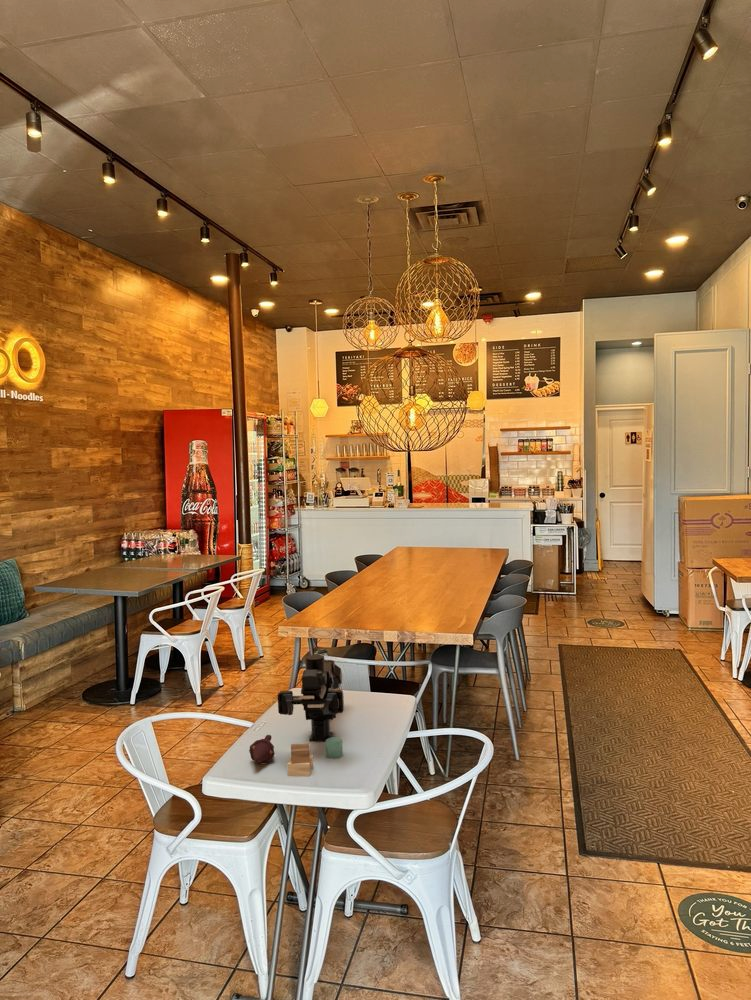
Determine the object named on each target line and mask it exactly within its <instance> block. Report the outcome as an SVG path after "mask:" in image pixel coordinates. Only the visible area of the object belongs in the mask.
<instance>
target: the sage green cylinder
mask: <svg viewBox="0 0 751 1000" xmlns="http://www.w3.org/2000/svg"><path fill="white" fill-rule="evenodd" d="M343 754H344V752H343V739H342V738H341V737H340V736H339V737H338V736H331V738H328V739H326V741H325V757H326V758H327V759H331V758H332V759H333V760H334V759H335V760H336V759H340V758H341V757H343V756H342V755H343Z"/></svg>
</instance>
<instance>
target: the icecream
mask: <svg viewBox="0 0 751 1000" xmlns="http://www.w3.org/2000/svg"><path fill="white" fill-rule="evenodd" d="M271 741H272V735H271V734H268V735H265V736H264V738H261V739H257V740H255V741H254V742H253V743H252V744H250V746H249V749H248V751H249V754H250V758H251V760H252V761H254V762H256V764H258V765H262V764H261V763H267V764H269V763H271V761H272V760H273V759H274V757H275V749H274V748H275V746H274V744H273V743H272V742H271Z"/></svg>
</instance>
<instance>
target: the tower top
mask: <svg viewBox="0 0 751 1000" xmlns="http://www.w3.org/2000/svg"><path fill="white" fill-rule="evenodd" d="M310 755H311V754H310V742H306V743H305V742H304V743H293V744H290V758H291V764H298V763H310Z"/></svg>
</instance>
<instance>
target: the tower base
mask: <svg viewBox="0 0 751 1000" xmlns="http://www.w3.org/2000/svg"><path fill="white" fill-rule="evenodd" d="M286 765H287V766H286V767H287V776H288V777H310V776H311V774H310V773H312V771H313V769H314V755H313V754H312V755H311V754H310V763H298V764H291V757H290V758H289V760H288V763H287V764H286Z"/></svg>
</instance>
